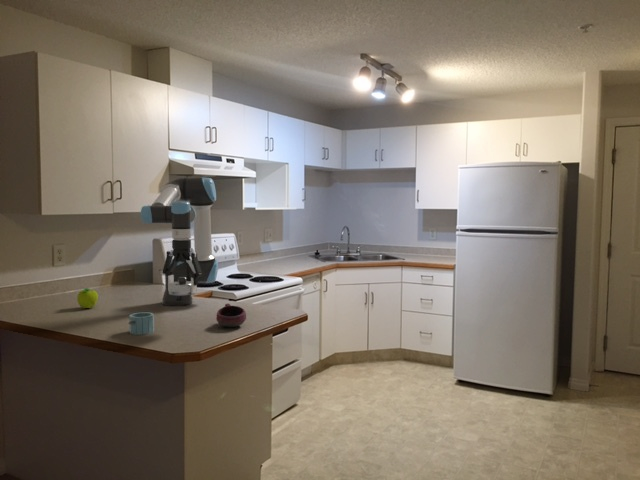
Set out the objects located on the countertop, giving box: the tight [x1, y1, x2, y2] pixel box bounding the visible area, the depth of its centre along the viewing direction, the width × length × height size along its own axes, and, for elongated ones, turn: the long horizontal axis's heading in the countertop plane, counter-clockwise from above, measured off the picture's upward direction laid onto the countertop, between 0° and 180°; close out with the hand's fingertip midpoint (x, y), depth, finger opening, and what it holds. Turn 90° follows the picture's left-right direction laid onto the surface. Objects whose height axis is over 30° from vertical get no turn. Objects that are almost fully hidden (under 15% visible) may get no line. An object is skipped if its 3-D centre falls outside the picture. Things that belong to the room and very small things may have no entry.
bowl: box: [215, 303, 247, 328], centre depth 228 cm, size 16×13×8 cm
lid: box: [169, 277, 196, 296], centre depth 221 cm, size 11×11×6 cm
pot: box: [128, 311, 155, 336], centre depth 218 cm, size 13×9×7 cm
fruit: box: [76, 287, 99, 309], centre depth 261 cm, size 9×9×10 cm
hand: (182, 291), depth 221 cm, fingers closed on lid, 11 cm apart
